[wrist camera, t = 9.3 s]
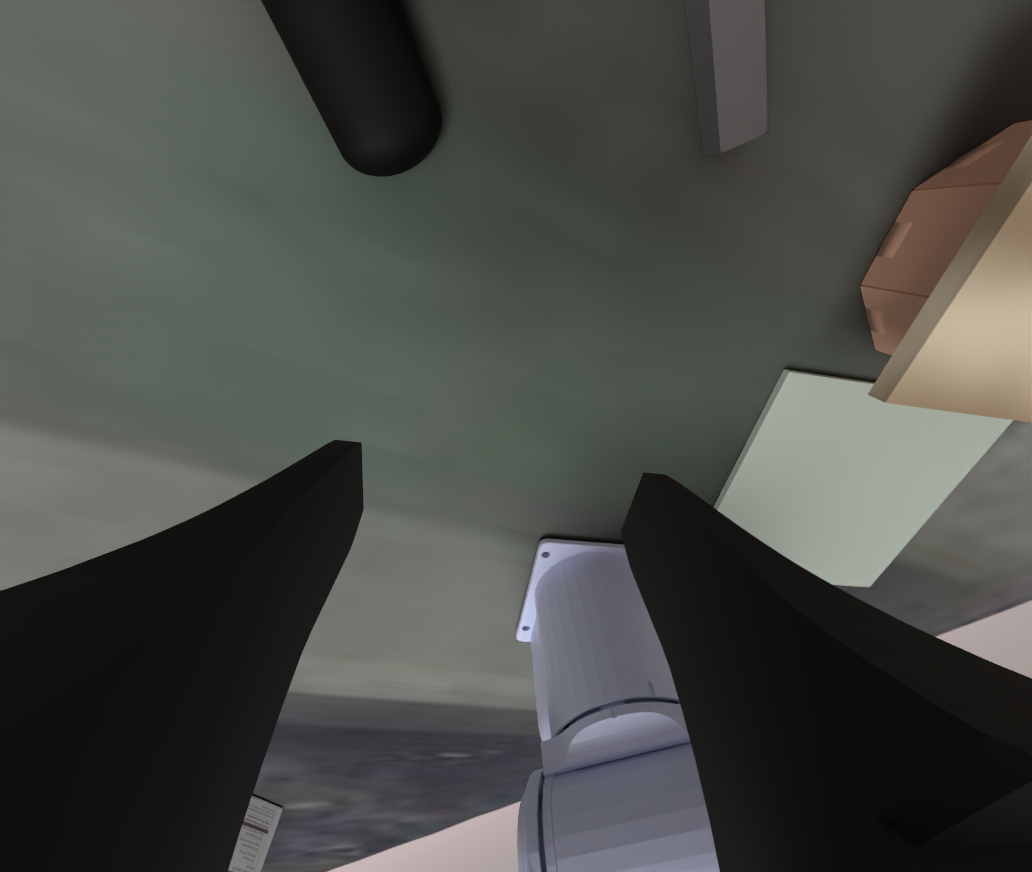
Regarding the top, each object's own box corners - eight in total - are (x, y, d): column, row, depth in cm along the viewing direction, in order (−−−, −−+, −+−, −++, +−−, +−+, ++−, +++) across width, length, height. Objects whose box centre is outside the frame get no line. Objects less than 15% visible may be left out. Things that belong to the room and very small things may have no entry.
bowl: (982, 368, 20) (1088, 400, 16) (826, 343, 19) (905, 371, 15) (1145, 155, 16) (1335, 136, 12) (957, 105, 14) (1108, 68, 11)
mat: (864, 582, 27) (869, 587, 27) (681, 569, 26) (683, 574, 25) (1016, 403, 21) (1024, 406, 21) (783, 368, 19) (789, 371, 19)
